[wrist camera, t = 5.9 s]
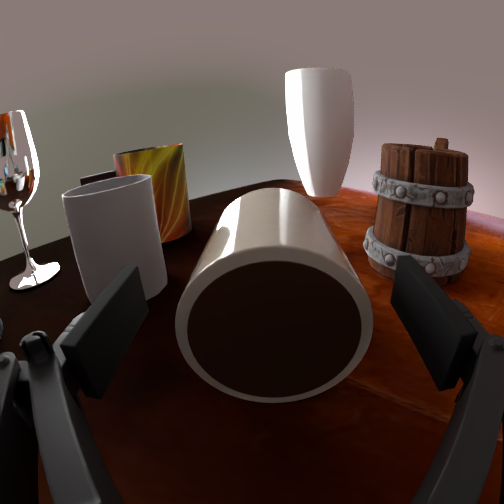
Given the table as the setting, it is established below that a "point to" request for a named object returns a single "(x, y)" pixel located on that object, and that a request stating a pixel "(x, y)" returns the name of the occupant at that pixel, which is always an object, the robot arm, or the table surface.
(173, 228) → the mug
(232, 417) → the table surface
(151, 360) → the table surface
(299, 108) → the cup
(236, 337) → the tumbler
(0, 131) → the wineglass
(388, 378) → the table surface
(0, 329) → the beverage can
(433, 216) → the mug
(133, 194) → the cup
